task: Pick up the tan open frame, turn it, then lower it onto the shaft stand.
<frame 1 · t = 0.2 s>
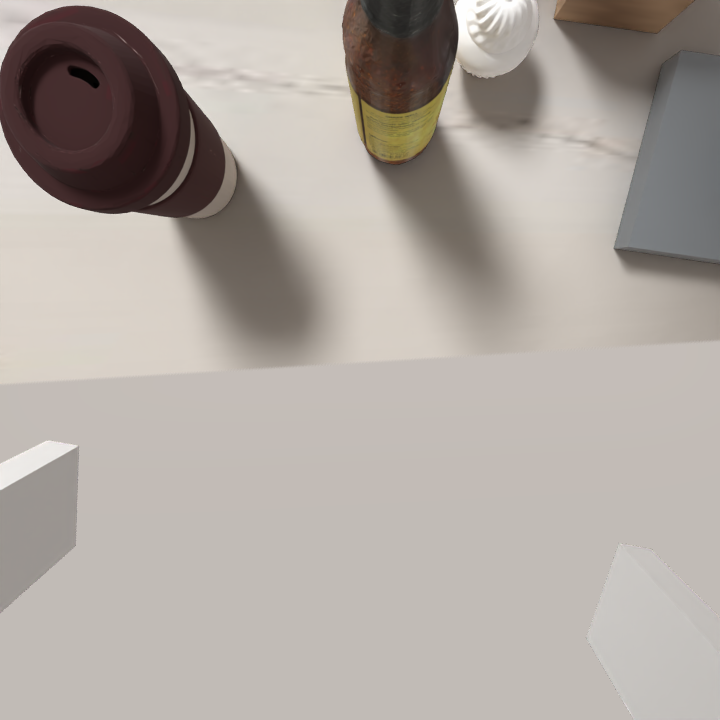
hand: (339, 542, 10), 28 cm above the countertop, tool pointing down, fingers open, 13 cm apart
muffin: (480, 54, 32), on the countertop
coffee cup: (197, 175, 35), on the countertop
sauce bottle: (393, 126, 33), on the countertop
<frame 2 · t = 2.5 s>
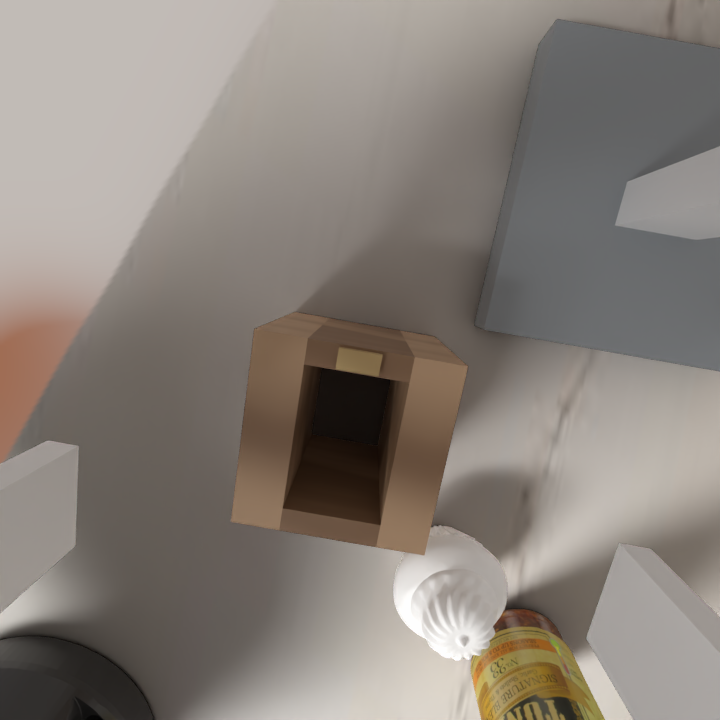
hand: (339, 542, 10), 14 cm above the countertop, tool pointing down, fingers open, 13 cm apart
shaft stand: (635, 217, 21), on the countertop
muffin: (438, 545, 26), on the countertop
tan open frame: (353, 391, 24), on the countertop
sauce bottle: (509, 640, 27), on the countertop
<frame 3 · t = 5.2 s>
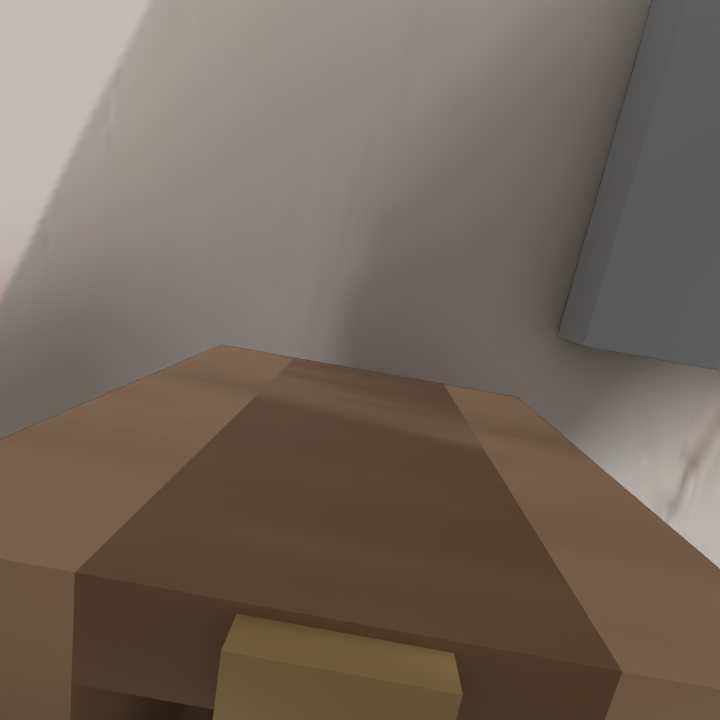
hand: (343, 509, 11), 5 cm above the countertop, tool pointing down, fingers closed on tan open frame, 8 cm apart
tan open frame: (344, 505, 12), point 5 cm above the countertop, touching gripper
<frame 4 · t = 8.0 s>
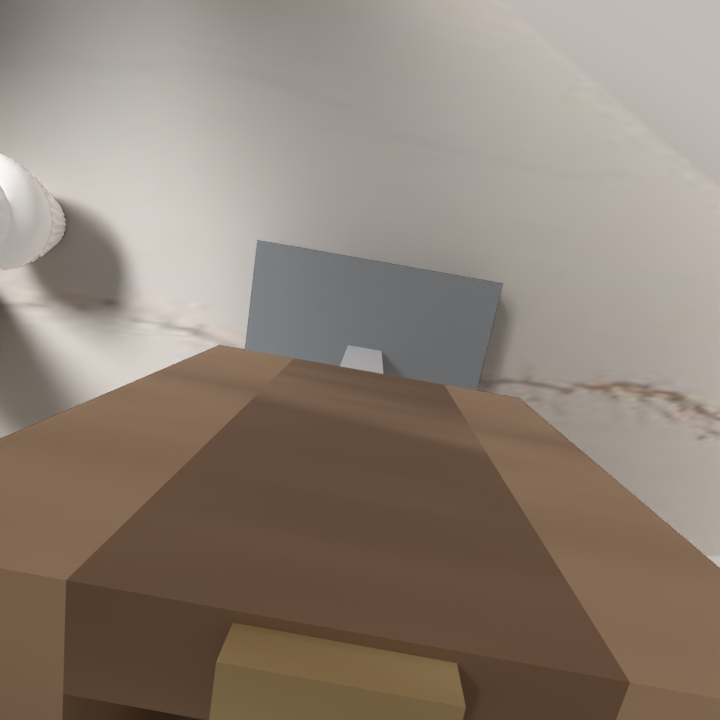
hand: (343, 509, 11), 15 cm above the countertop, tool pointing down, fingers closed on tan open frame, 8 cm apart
shaft stand: (360, 372, 26), on the countertop
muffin: (43, 220, 25), on the countertop
tan open frame: (344, 506, 11), point 15 cm above the countertop, touching gripper
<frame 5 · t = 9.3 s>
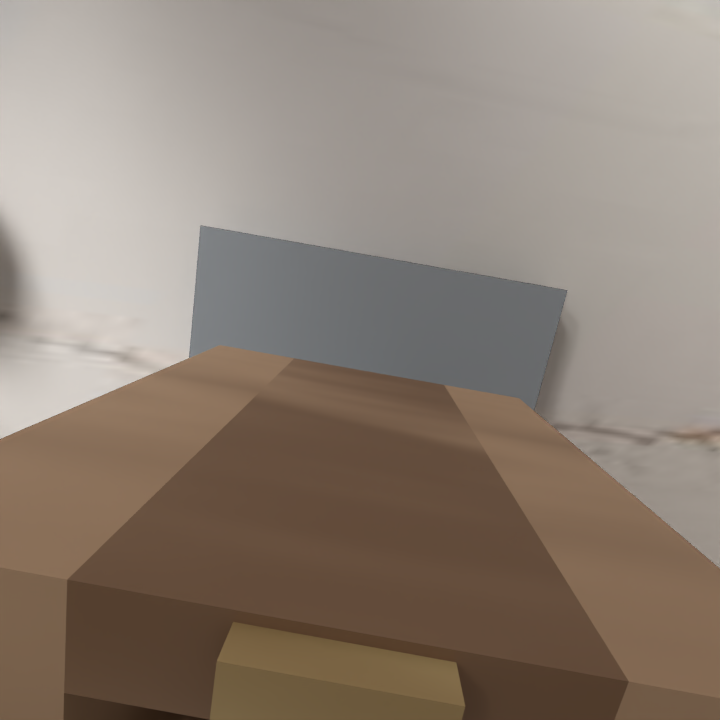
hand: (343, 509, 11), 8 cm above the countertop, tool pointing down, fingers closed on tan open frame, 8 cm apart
shaft stand: (355, 414, 19), on the countertop
tan open frame: (344, 506, 11), point 7 cm above the countertop, touching gripper
when the fingers open (4 cm above the countertop, at t = 10.9 s): tan open frame drops 1 cm, resting on shaft stand.
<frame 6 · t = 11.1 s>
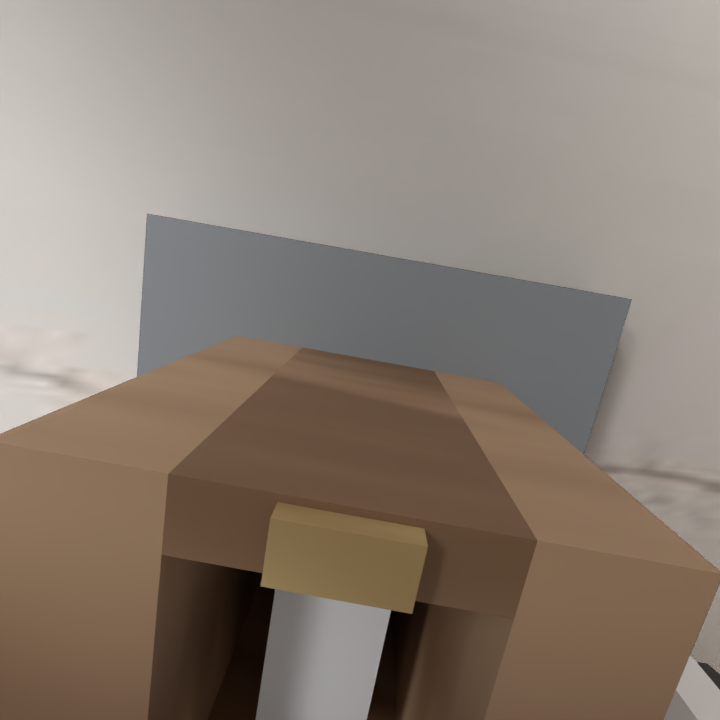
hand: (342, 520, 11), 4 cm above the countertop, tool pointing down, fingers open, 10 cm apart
shaft stand: (351, 452, 15), on the countertop
tan open frame: (346, 479, 13), point 2 cm above the countertop, touching shaft stand
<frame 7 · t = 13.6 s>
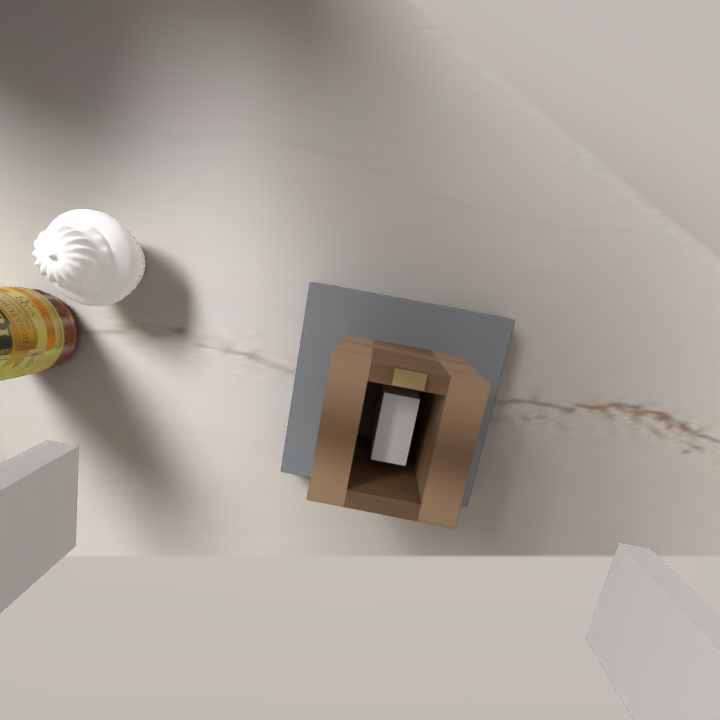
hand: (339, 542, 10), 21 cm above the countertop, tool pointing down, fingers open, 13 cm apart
shaft stand: (391, 392, 31), on the countertop
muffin: (126, 261, 30), on the countertop
tan open frame: (390, 400, 29), point 2 cm above the countertop, touching shaft stand
sauce bottle: (44, 326, 31), on the countertop
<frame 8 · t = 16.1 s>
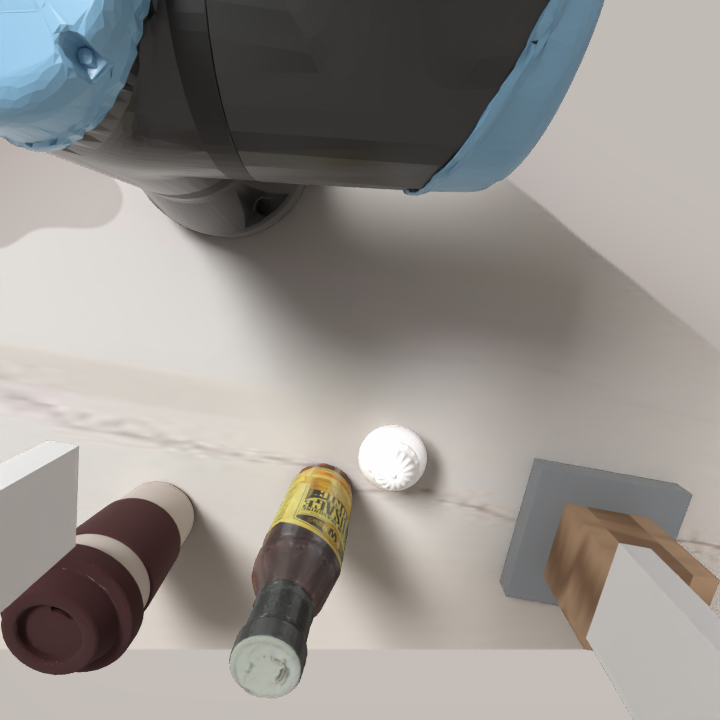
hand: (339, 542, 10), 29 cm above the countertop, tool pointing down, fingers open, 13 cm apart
shaft stand: (585, 534, 41), on the countertop
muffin: (391, 441, 40), on the countertop
coffee cup: (162, 510, 43), on the countertop
tan open frame: (595, 547, 39), point 2 cm above the countertop, touching shaft stand
sauce bottle: (321, 485, 41), on the countertop
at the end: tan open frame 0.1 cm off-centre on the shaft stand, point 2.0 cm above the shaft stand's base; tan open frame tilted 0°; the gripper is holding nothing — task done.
